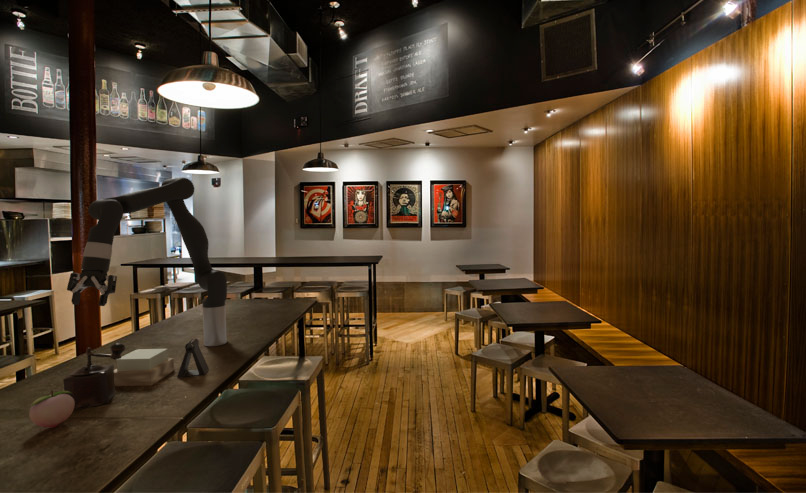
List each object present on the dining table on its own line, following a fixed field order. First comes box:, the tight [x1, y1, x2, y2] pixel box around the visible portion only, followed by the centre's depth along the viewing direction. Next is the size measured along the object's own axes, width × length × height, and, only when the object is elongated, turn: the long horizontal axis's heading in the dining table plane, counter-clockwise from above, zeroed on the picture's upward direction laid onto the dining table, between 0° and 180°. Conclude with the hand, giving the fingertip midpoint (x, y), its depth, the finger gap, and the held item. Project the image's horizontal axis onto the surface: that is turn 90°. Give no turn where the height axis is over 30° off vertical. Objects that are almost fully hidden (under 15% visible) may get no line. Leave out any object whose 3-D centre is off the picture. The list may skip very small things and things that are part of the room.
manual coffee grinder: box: [63, 342, 126, 410], centre depth 125 cm, size 16×11×18 cm
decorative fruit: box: [28, 390, 75, 429], centre depth 108 cm, size 9×8×10 cm
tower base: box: [114, 357, 175, 387], centre depth 143 cm, size 14×14×5 cm
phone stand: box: [176, 338, 209, 379], centre depth 146 cm, size 9×6×12 cm, turn 103°
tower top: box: [115, 348, 169, 371], centre depth 143 cm, size 11×11×4 cm
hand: (88, 305), depth 135 cm, fingers open, 8 cm apart
